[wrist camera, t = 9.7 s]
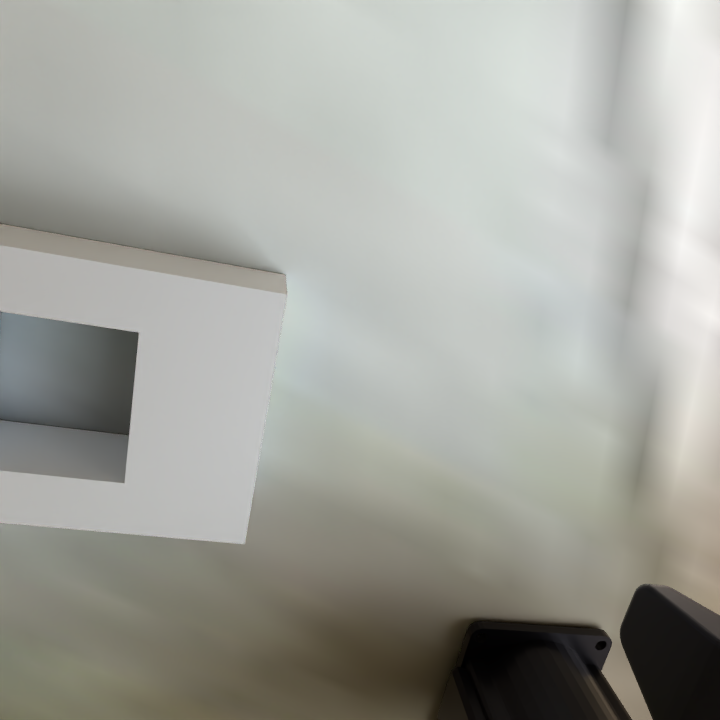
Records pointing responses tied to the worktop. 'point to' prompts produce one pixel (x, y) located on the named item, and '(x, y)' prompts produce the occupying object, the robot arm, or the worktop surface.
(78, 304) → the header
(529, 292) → the worktop surface
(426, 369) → the worktop surface
